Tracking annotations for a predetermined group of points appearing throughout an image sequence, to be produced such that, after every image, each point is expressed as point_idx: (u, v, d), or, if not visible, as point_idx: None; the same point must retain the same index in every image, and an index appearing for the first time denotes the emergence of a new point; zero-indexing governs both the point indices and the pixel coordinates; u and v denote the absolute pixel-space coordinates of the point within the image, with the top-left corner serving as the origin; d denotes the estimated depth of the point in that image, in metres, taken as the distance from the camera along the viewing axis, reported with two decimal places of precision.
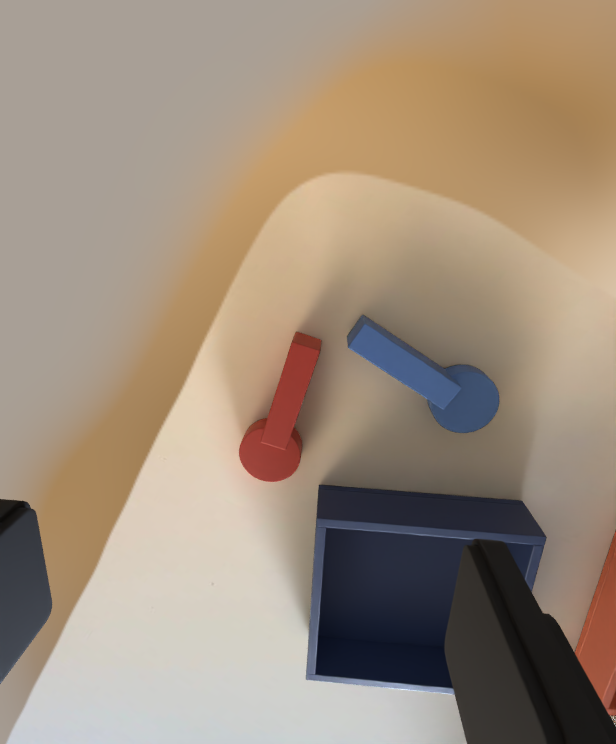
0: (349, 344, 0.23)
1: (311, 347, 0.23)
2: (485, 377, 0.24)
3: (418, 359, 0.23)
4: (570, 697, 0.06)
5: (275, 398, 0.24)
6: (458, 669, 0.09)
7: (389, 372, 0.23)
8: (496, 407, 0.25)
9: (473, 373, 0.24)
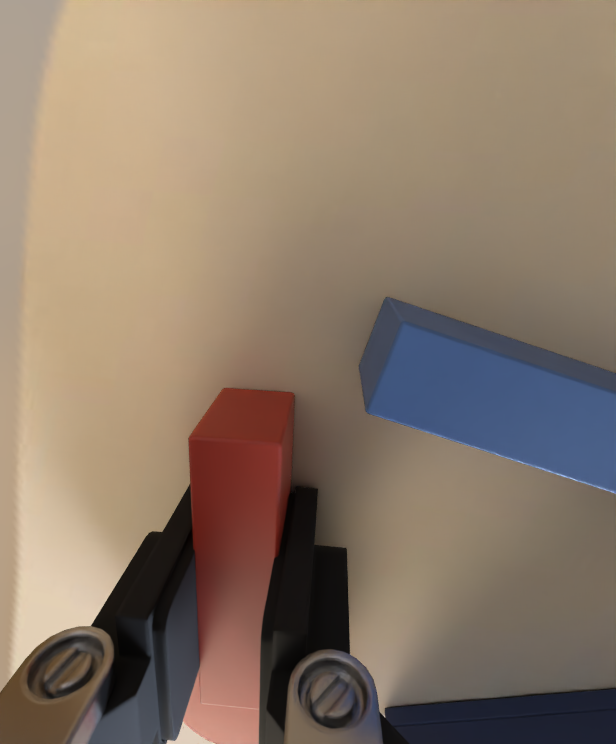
0: (368, 401, 0.07)
1: (254, 437, 0.07)
2: None
3: None
4: (297, 593, 0.07)
5: (198, 597, 0.08)
6: None
7: (523, 458, 0.07)
8: None
9: None
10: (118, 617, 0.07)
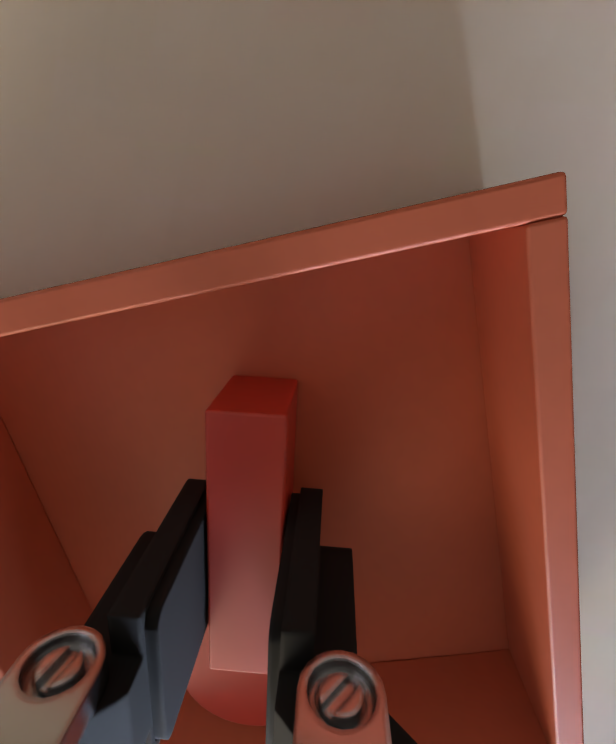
0: None
1: (263, 410, 0.08)
2: None
3: None
4: (304, 593, 0.07)
5: (210, 562, 0.09)
6: None
7: None
8: None
9: None
10: (110, 616, 0.07)
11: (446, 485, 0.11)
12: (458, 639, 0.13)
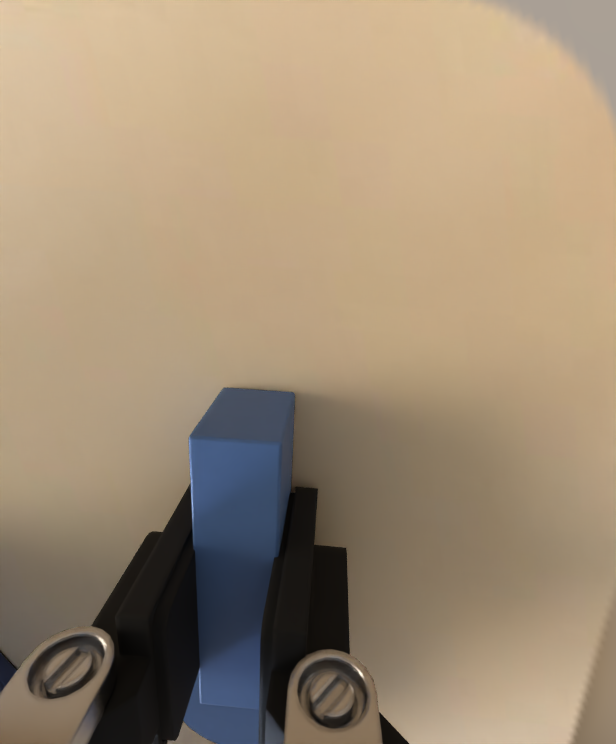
0: (199, 433, 0.07)
1: None
2: None
3: None
4: (297, 593, 0.07)
5: None
6: None
7: (198, 565, 0.08)
8: None
9: None
10: (118, 617, 0.07)
11: None
12: None
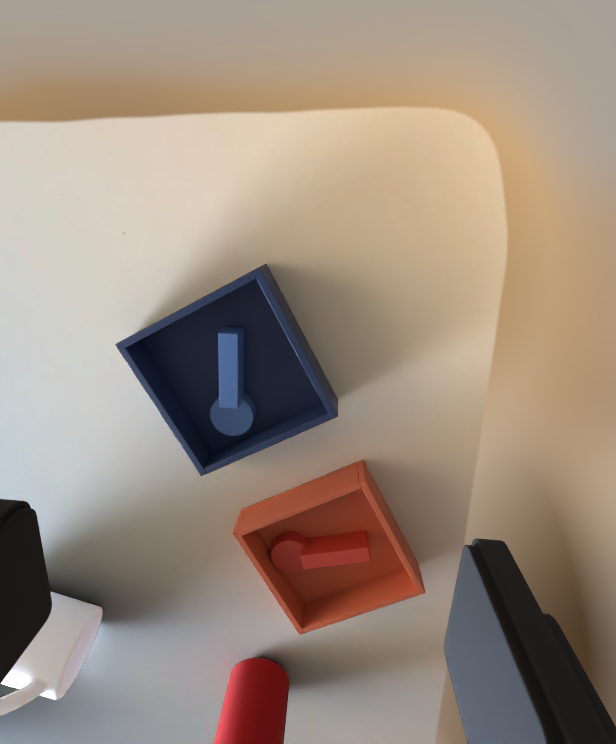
0: (220, 332, 0.34)
1: None
2: (252, 417, 0.37)
3: (237, 376, 0.35)
4: (570, 697, 0.06)
5: (331, 552, 0.40)
6: (458, 669, 0.09)
7: (219, 365, 0.35)
8: (240, 433, 0.38)
9: (250, 409, 0.37)
10: None
11: (349, 578, 0.44)
12: (302, 592, 0.45)
